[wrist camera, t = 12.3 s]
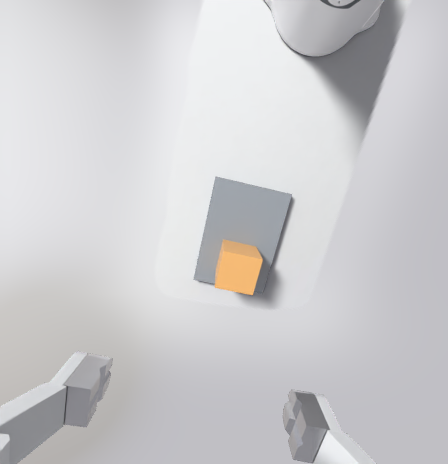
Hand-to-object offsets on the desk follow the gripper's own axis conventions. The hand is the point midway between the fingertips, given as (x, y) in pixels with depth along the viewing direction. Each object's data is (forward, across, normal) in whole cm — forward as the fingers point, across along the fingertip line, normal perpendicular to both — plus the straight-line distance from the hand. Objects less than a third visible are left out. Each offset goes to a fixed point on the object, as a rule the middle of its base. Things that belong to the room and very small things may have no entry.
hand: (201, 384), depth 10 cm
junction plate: (+34, -5, +1) cm, 34 cm away
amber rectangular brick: (+33, -5, +5) cm, 33 cm away
